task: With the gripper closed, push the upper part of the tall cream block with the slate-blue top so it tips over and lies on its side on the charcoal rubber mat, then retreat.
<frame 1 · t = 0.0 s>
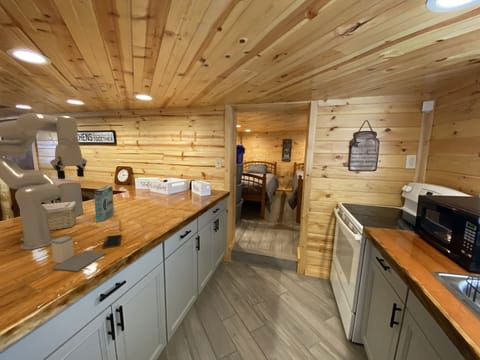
hand: (71, 177, 96), 37 cm above the counter, tool pointing down, fingers open, 9 cm apart
storage basket: (52, 227, 128), on the counter
phone: (113, 242, 109), on the counter
tall grey box: (73, 215, 153), on the counter
block: (64, 259, 90), on the counter
teal rectangular box: (105, 217, 148), on the counter
mat: (81, 261, 89), on the counter
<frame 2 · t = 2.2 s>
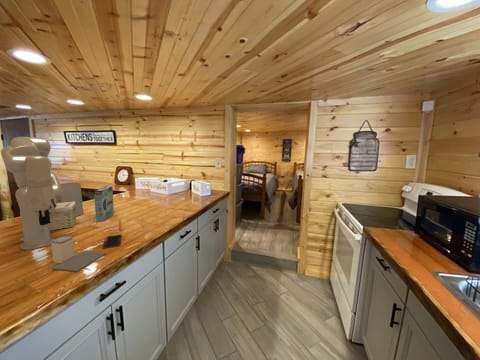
hand: (45, 224, 88), 17 cm above the counter, tool pointing down, fingers closed
nothing on the counter moved.
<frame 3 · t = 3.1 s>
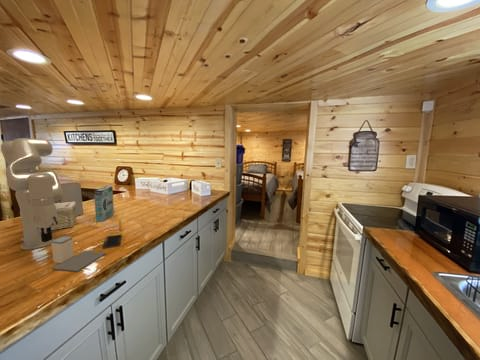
hand: (47, 240, 90), 9 cm above the counter, tool pointing down, fingers closed
nothing on the counter moved.
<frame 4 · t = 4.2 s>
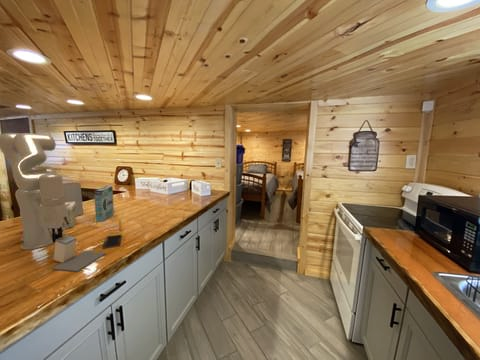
hand: (57, 241, 89), 9 cm above the counter, tool pointing down, fingers closed
block: (64, 258, 90), point 1 cm above the counter, tilted 13°, touching gripper
everything else where it was.
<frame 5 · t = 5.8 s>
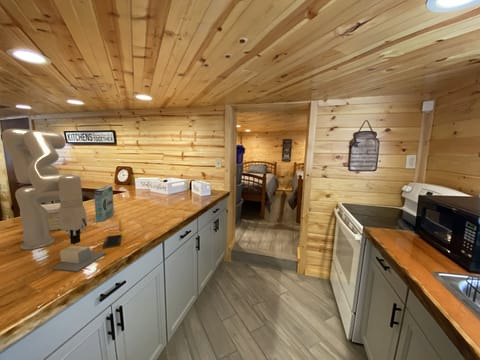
hand: (75, 242, 88), 9 cm above the counter, tool pointing down, fingers closed
block: (66, 253, 89), point 3 cm above the counter, tilted 90°, touching mat
everything else where it was.
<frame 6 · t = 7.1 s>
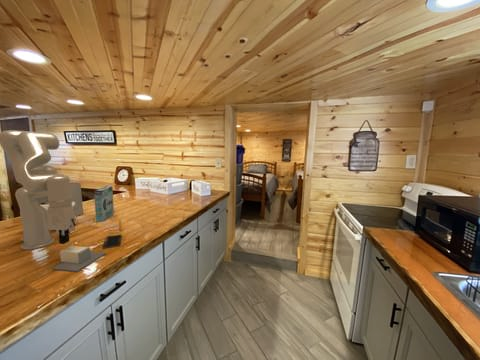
hand: (64, 242, 89), 8 cm above the counter, tool pointing down, fingers closed
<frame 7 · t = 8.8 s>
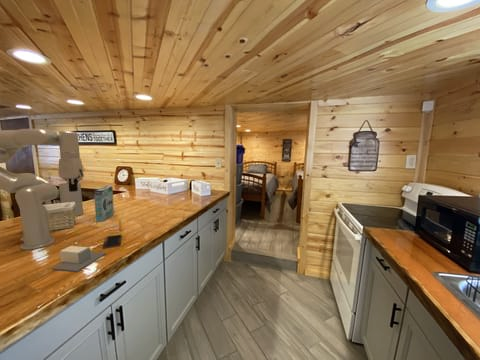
hand: (73, 191, 102), 29 cm above the counter, tool pointing down, fingers closed
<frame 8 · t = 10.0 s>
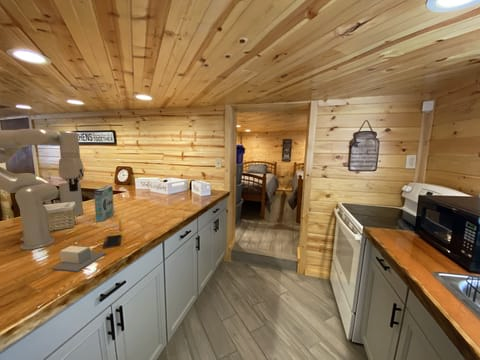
hand: (73, 191, 102), 29 cm above the counter, tool pointing down, fingers closed
at the end: block tilted 90°; block touching mat; block inside the target area (2.6 cm from its centre), point 3.1 cm above the counter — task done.
